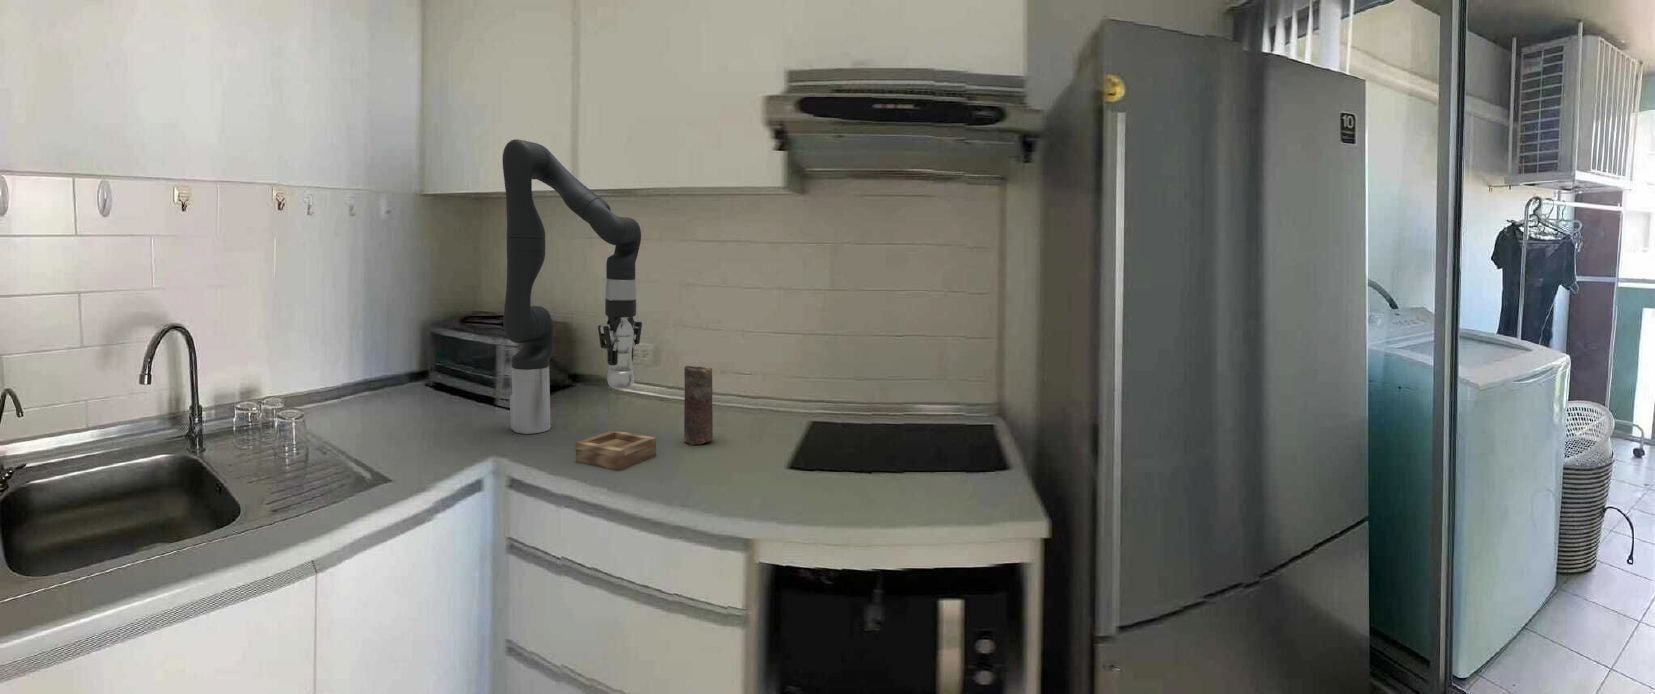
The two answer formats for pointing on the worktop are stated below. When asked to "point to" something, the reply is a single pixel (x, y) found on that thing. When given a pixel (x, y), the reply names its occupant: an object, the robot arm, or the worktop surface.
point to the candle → (698, 405)
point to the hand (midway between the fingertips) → (620, 363)
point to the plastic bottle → (622, 357)
